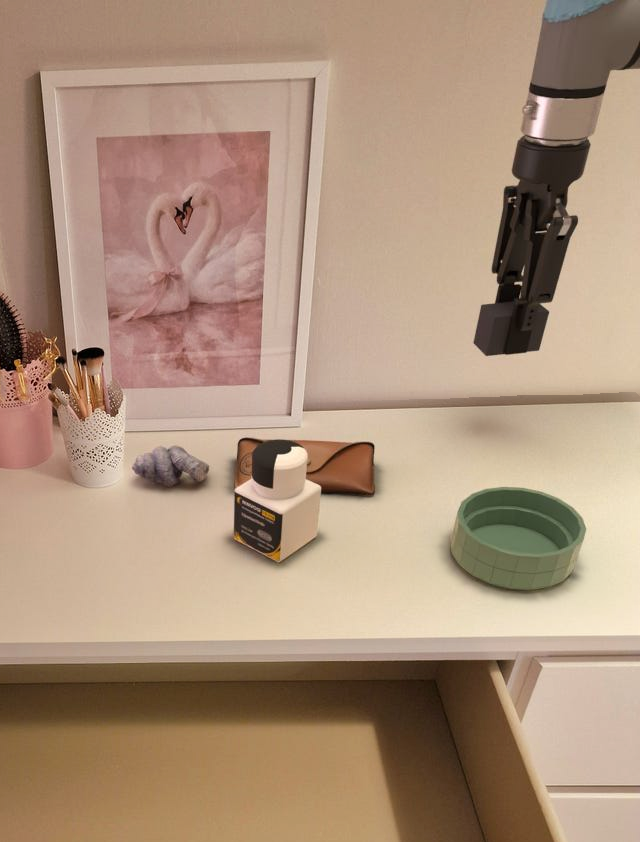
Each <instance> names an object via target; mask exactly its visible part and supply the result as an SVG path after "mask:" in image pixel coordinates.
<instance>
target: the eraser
mask: <svg viewBox="0 0 640 842" xmlns="http://www.w3.org/2000/svg"><path fill="white" fill-rule="evenodd" d="M513 307H514V301H513V302H503V303H495V302H494V303H493V302H492V303H483V304H481V305H480V308H479V310H480V311H479V314H478V318H477V323H476V328H475V333H474V338H473V341H472V343H473V345H475V347H476V348H477V349H478V350H479V351H480V352H481V353H482V354H483V355H484V356H485V357H491V356H501V355H502V356H503V355H505V354H504V353H503V351H504V346H505V342H506V338H507V334H508V329H509V325H510V321H511V317H512V312H513ZM549 315H550V310H548V309H547V308H546V307H544V305H542V303H540V304H539V307H538V310H537V314H536V318H535V321H534V326H533V329H532V333H531V337H530V341H529V344H528V348H527V352H526V353H529V352H530V353H531V352H538V351H539V352H540V349H541V346H542V340H543V339H544V338H543V337H544V333H545V330H546V326H547V323H548V318H549Z"/></svg>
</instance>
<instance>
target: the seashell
mask: <svg viewBox="0 0 640 842" xmlns="http://www.w3.org/2000/svg"><path fill="white" fill-rule="evenodd" d="M131 470H132V471H134V473H135V475H138V476H139V477H140V478H142V479H147V481H148V482H150V483H151V484H153V485H157V484H160V483H161V484H162V485H163V486H165V487H166V488H171V487H173V486H174V485H177V484H179V482H180V479H181V477H182V475H183V472H184V473H186V474H188V475H189V476H190V477H191V478H192V479H195V480H196V481H197V482H200V483H201V482H202V481H204V480H205V479H206V478H207V476H208V473H209V471H210V464H209V463H208V462H207V463H206V462H205V461H202V460H200V459H198V458H197V457H195V456H194V455H192V454H190V453H188V451H186V449H185V448H184V447H183V446H178V445H175V444H174V445H172V446H169V447H168V448H167V447H165V446H162V445H159V446H157V447H155V448H154V449H153V450H152V451H151V452H146V453H143V454H142V455H138V456H137V457H136V458H135V462H134V463H133V464H132V466H131Z"/></svg>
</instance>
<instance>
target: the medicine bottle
mask: <svg viewBox="0 0 640 842" xmlns="http://www.w3.org/2000/svg"><path fill="white" fill-rule="evenodd" d="M268 440H269V441H266V442H263V443H261V444H259V445H258V446H257V447H256V448H255V449H254V450H253V453H252V475H251V479H250V480H249V481H247V482H245V483H244V484H242V485H240V486H239V487H237V488H236V489H235V488H234V492H233V493H234V496H233V505H234V506H233V539H234V540H235V541H237V542H239V543H240V544H243V545H244V546H246V547H248V548H250V549H252V550H254V551H256V552H258V553H260V554H261V555H263V556H265V557H267V558H269V559H271V560H273V561H274V562H276V563H280V562H282V561H284V560H286V558H288V557H289V556H291V555H292V554H294V553H295V552H297V551H298V550H299V549H301V548H302V547H304V546H305V545H306V544H308V543H309V542H311V541H312V540H314V539H315V538H316V537H317V535H318V527H319V515H320V505H321V495H322V493H321V486H320V485H318V484H315V483H313V482H311V481H309V480H307V479H306V469H307V457H308V454H307V452H306V450H305V449H304V448H303V447H302V446H301V445H300V444H298V443H296V442H293V441H290V440H291V439H281V438H280V439H279V438H278V439H277V438H276V439H268Z"/></svg>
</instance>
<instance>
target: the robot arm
mask: <svg viewBox="0 0 640 842" xmlns="http://www.w3.org/2000/svg"><path fill="white" fill-rule="evenodd" d="M541 20H542V21H541V26H540V31H539V36H538V42H537V47H536V53H535V57H534V61H533V62H534V63H533V69H532V73H531V79H530V82H529V87H528V93H527V97H526V100H525V105H523V107H522V110H521V113H522V114H523V116H522V121H521V125H520V132H521V134H522V135H523V136H521V137H520V138H519V139H518V140H517V143H516V148H515V151H514V157H513V161H512V167H511V174H512V176H513V177H514V178H515V179H517V180H518V183H517V184H514V185H513V184H512V185H506V186H505V187H504V188H503V199H502V211H501V215H500V223H499V225H498V232H497V237H496V243H495V248H494V252H493V258H492V264H491V274H495V275H496V283H497V285H498V287H497V290H496V295H495V300H494V303H503V302H513V301H514V307H513V312H512V317H511V321H510V325H509V329H508V334H507V338H506V342H505V346H504V351H503V353H504V354H503V355H505V356H508V355H509V356H510V355H519V354H527V353H528V352H527V348H528V344H529V341H530V337H531V333H532V329H533V326H534V321H535V318H536V314H537V310H538V307H539V304H551V303H552V302H553V300H554V296H555V294H556V290H557V287H558V282H559V279H560V276H561V273H562V272H561V271H562V269H563V265H564V262H565V259H566V254H567V251H568V248H569V244H570V240H571V237H572V235H573V234H574V232H575V229H576V228H577V225H578V224H579V216H578V215H576V214H574V215H572V214H571V215H570V214H569V213H568V211H567V209H566V208H567V205H568V201H569V199H568V198H569V187H570V186H571V185H572V184H573V183H575V182H577V181H578V180H580V179H581V178H582V176H583V175H584V172H585V168H586V165H587V161H588V157H589V153H590V149H591V142H590V140H589V138H590V137H591V136H592V135H594V134H595V132H596V127H597V124H598V119H599V115H600V111H601V108H602V103H603V99H604V95H605V91H606V88H607V83H608V81H609V77H610V74H611V72H612V71H627V70H639V69H640V0H546V2H545V6H544V10H543V12H542V16H541ZM516 283H518V284H516ZM520 283H521V284H520Z"/></svg>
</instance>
